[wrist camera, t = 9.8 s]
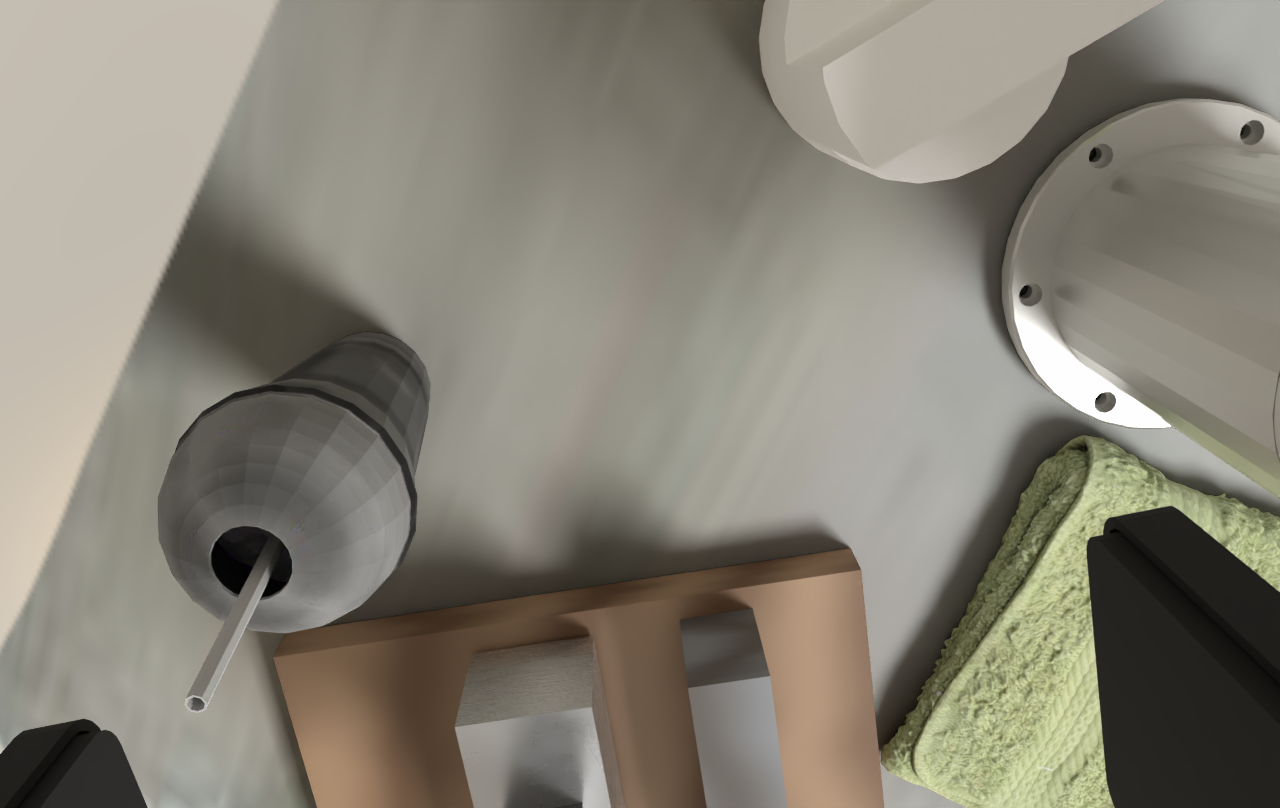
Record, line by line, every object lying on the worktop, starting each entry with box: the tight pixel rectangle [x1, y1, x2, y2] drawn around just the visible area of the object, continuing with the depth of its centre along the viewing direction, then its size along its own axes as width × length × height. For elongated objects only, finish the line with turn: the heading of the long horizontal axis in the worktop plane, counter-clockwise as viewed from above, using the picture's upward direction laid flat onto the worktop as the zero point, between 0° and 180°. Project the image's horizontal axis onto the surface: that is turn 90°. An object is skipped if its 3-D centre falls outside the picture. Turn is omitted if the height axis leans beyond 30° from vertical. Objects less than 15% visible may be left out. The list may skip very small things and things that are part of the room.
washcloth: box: [880, 435, 1280, 808], centre depth 46 cm, size 13×18×3 cm
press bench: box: [273, 548, 884, 808], centre depth 45 cm, size 24×14×7 cm, turn 99°
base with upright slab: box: [759, 0, 1165, 184], centre depth 34 cm, size 9×9×12 cm
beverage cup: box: [158, 332, 430, 713], centre depth 33 cm, size 7×7×20 cm
